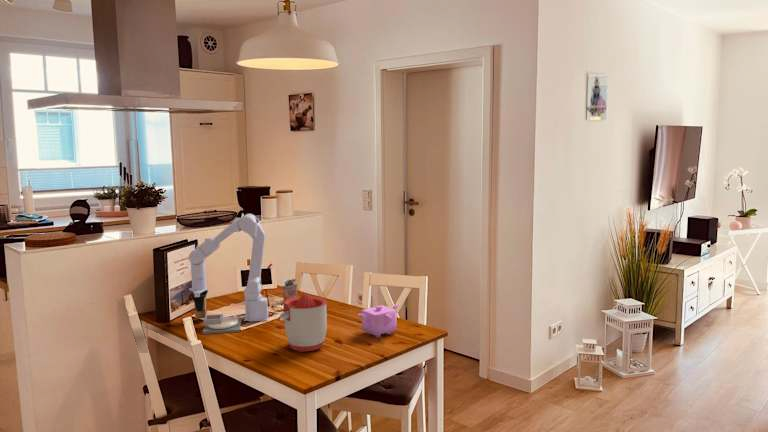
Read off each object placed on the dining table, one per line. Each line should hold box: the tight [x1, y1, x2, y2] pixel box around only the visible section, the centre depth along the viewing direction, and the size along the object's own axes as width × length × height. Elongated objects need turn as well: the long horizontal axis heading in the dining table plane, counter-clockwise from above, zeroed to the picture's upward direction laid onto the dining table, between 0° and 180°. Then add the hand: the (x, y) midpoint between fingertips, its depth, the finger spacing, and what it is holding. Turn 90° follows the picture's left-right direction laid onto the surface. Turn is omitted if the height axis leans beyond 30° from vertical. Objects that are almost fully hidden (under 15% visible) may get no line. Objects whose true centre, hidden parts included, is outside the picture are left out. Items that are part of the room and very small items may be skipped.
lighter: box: [282, 278, 298, 303], centre depth 279 cm, size 8×3×10 cm, turn 143°
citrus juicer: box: [279, 293, 328, 353], centre depth 217 cm, size 16×17×20 cm
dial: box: [203, 313, 239, 329], centre depth 242 cm, size 13×12×3 cm
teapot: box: [357, 304, 400, 338], centre depth 232 cm, size 15×13×11 cm
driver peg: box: [194, 296, 208, 320], centre depth 251 cm, size 4×4×8 cm
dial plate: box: [201, 318, 243, 335], centre depth 242 cm, size 14×14×1 cm
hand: (200, 309), depth 251 cm, fingers closed on driver peg, 4 cm apart
